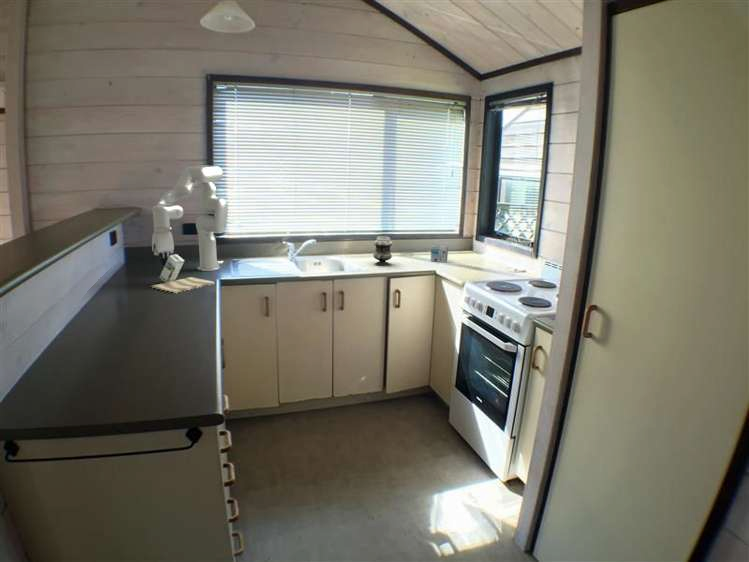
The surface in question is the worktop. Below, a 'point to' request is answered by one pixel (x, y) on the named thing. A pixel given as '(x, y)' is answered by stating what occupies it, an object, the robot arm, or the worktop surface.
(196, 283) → the chopping board
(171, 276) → the syrup box
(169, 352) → the worktop surface
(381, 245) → the apothecary jar
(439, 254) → the light bulb box
